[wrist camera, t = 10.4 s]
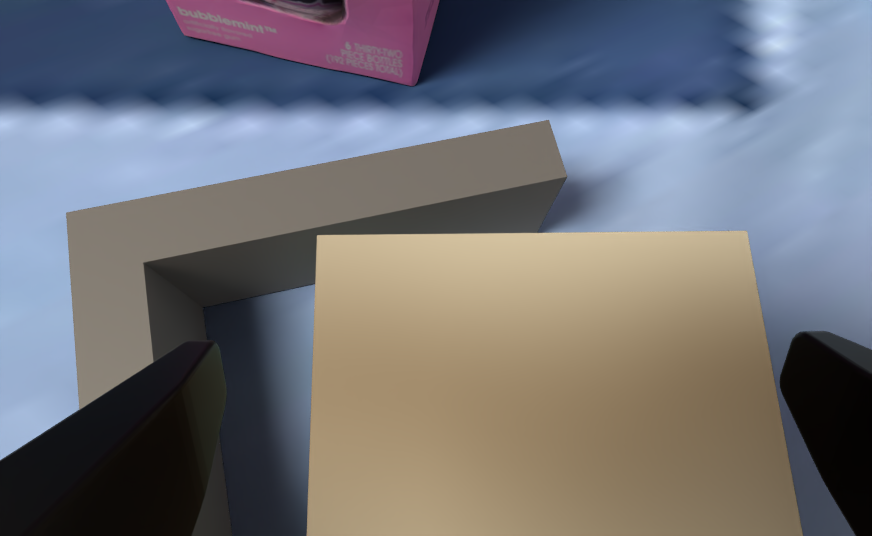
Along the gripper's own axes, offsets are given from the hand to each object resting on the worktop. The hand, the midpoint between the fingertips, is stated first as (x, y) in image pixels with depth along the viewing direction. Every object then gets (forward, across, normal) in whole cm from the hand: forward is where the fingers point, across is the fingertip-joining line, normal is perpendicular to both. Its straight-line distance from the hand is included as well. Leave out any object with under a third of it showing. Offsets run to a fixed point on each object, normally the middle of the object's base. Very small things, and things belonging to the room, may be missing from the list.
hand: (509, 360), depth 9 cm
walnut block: (+4, 0, +6) cm, 8 cm away
